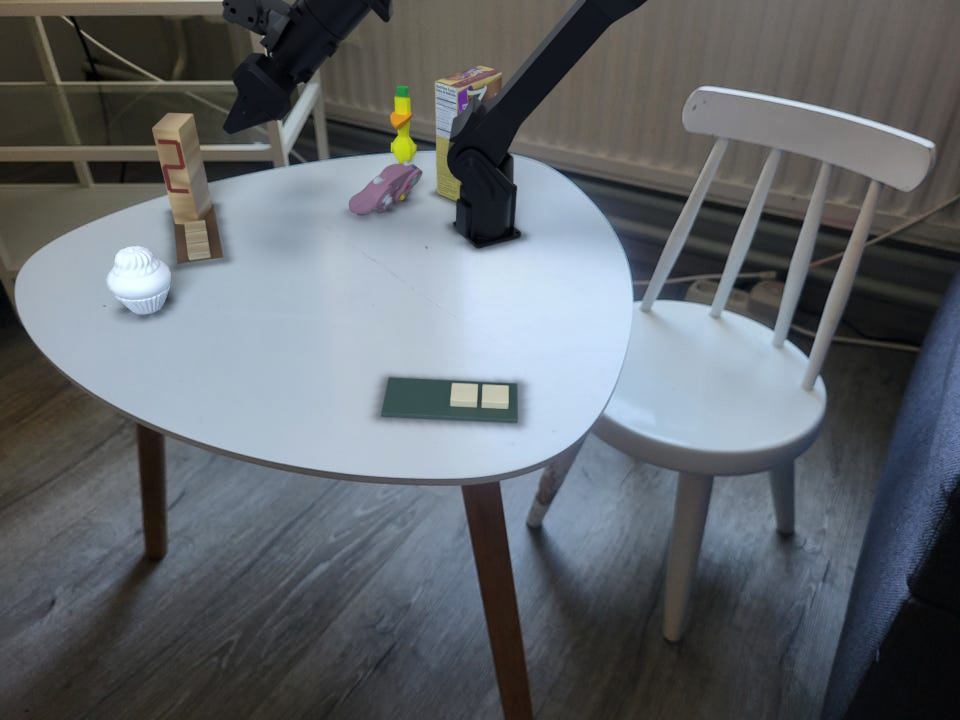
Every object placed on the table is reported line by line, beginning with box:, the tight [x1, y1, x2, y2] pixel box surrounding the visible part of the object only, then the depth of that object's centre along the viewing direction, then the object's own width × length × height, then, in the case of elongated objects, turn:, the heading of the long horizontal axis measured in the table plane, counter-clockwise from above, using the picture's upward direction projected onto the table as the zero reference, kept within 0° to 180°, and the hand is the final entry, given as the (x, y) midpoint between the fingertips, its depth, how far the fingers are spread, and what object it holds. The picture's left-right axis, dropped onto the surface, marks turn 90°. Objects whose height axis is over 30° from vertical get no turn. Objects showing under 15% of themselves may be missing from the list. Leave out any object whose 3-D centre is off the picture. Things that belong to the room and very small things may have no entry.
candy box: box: [434, 65, 503, 202], centre depth 98 cm, size 9×4×15 cm, turn 140°
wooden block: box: [151, 112, 213, 224], centre depth 89 cm, size 3×5×12 cm, turn 178°
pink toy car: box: [348, 160, 423, 215], centre depth 96 cm, size 10×5×7 cm, turn 148°
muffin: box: [105, 245, 172, 316], centre depth 76 cm, size 6×6×7 cm
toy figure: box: [389, 85, 418, 164], centre depth 102 cm, size 7×4×12 cm, turn 172°
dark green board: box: [381, 376, 518, 424], centre depth 68 cm, size 12×5×1 cm, turn 88°
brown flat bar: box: [172, 203, 224, 265], centre depth 90 cm, size 14×5×1 cm, turn 20°
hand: (238, 115), depth 85 cm, fingers open, 9 cm apart
